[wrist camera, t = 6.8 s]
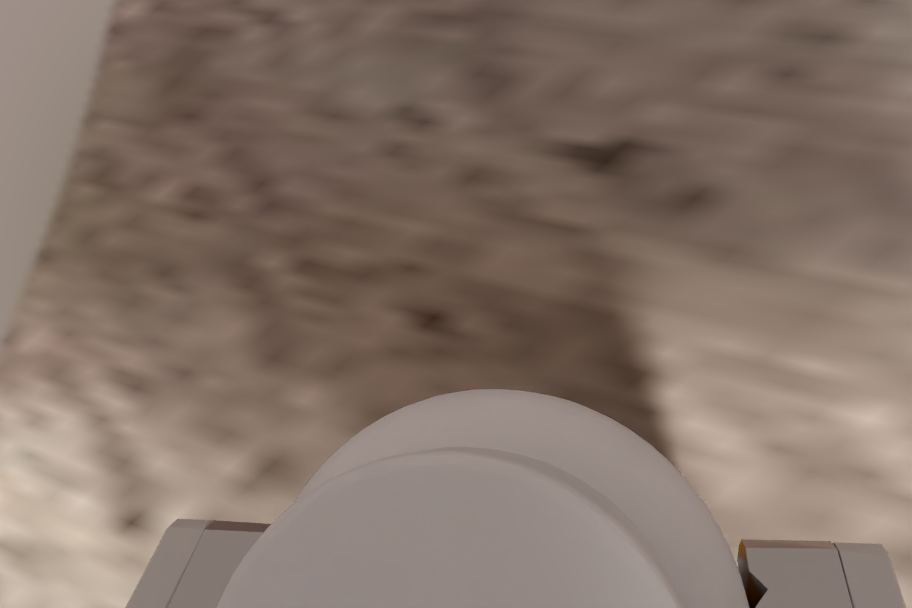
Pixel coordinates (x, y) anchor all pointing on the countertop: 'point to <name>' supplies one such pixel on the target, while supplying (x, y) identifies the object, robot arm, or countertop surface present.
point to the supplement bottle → (492, 517)
